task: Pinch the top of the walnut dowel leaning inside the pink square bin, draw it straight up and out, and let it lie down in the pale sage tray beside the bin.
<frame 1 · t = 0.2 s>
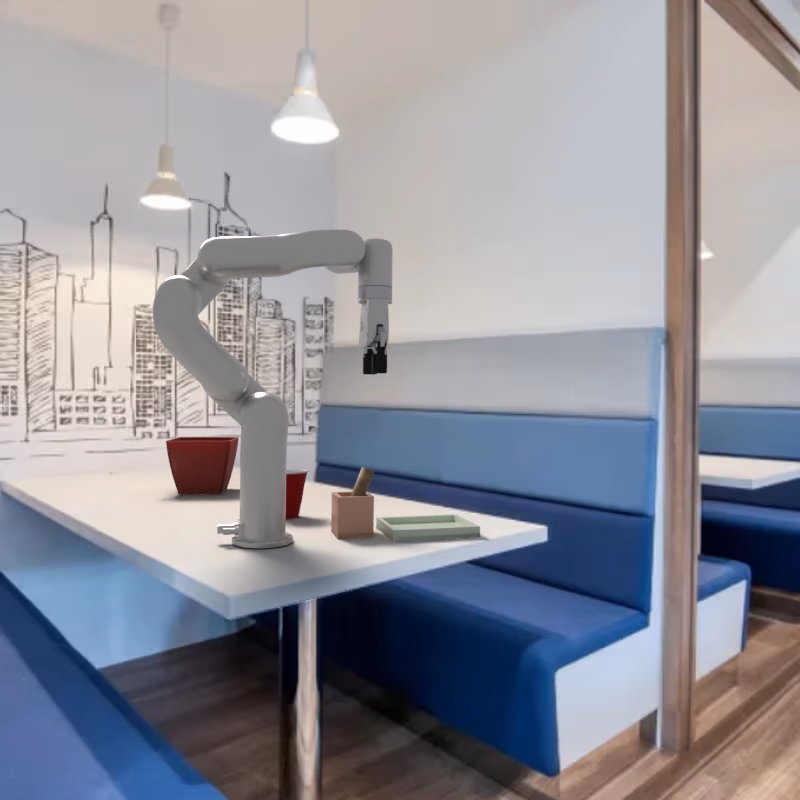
hand: (374, 373, 146), 36 cm above the table, tool pointing down, fingers open, 9 cm apart
tray: (426, 532, 151), on the table
dowel: (345, 527, 148), point 2 cm above the table, touching pink square bin
plastic cup: (286, 517, 168), on the table
plant pot: (203, 492, 207), on the table
pink square bin: (351, 534, 148), on the table
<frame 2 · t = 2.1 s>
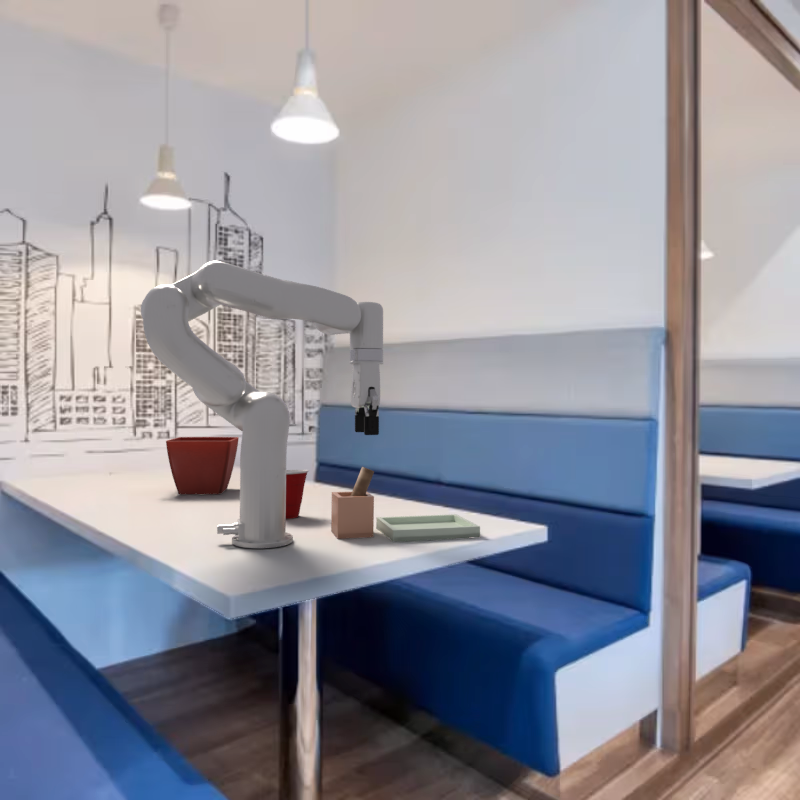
hand: (366, 433, 149), 23 cm above the table, tool pointing down, fingers open, 9 cm apart
nothing on the table moved.
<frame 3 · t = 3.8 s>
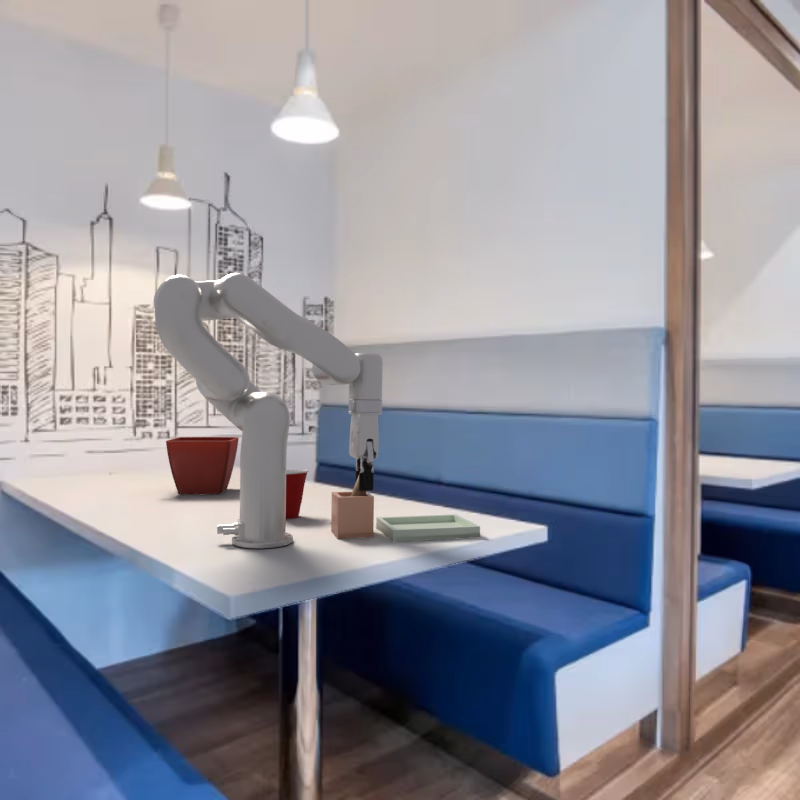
hand: (364, 488, 149), 10 cm above the table, tool pointing down, fingers closed on dowel, 3 cm apart
dowel: (345, 527, 148), point 2 cm above the table, touching pink square bin, gripper
everything else where it was.
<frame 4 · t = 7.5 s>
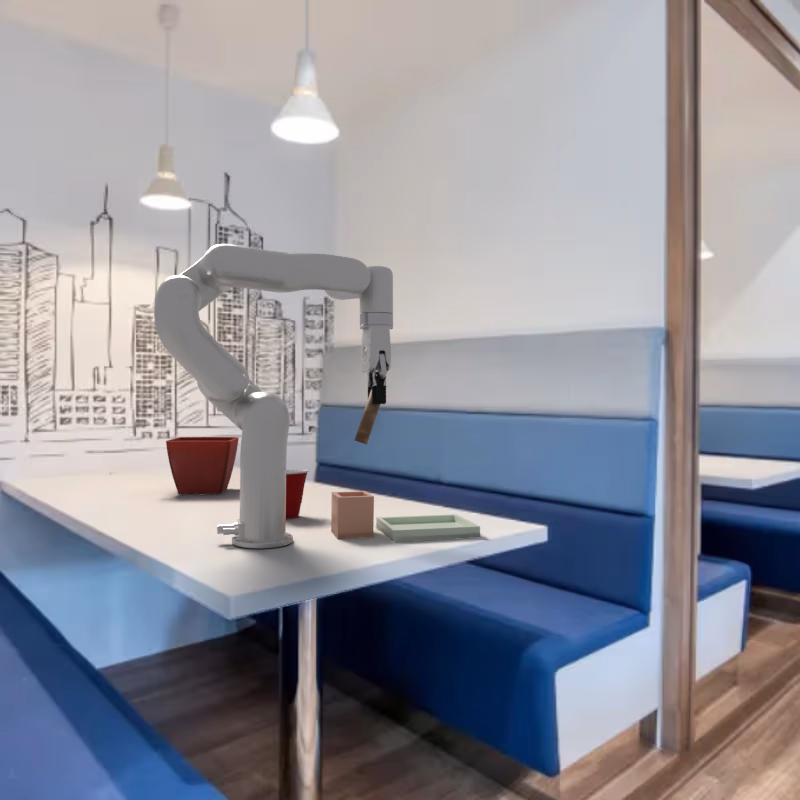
hand: (376, 403, 149), 30 cm above the table, tool pointing down, fingers closed on dowel, 3 cm apart
dowel: (360, 442, 148), point 21 cm above the table, touching gripper
everything else where it was.
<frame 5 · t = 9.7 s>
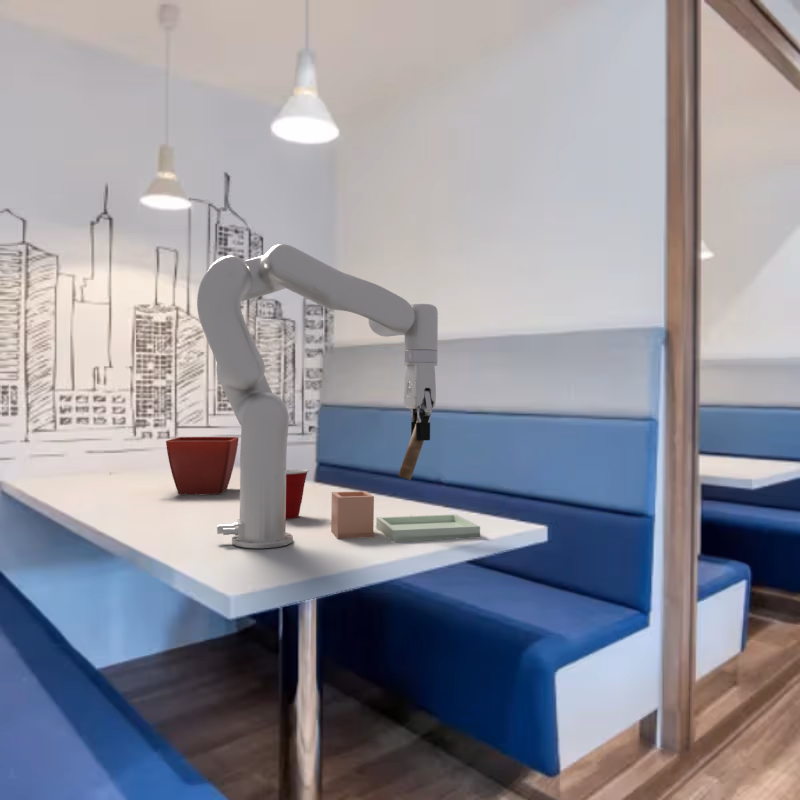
hand: (420, 438, 150), 21 cm above the table, tool pointing down, fingers closed on dowel, 3 cm apart
dowel: (404, 477, 149), point 13 cm above the table, touching gripper
everything else where it was.
when the fingers open (13 cm above the table, at t = 11.5 s): dowel drops 1 cm and tips over, resting on tray.
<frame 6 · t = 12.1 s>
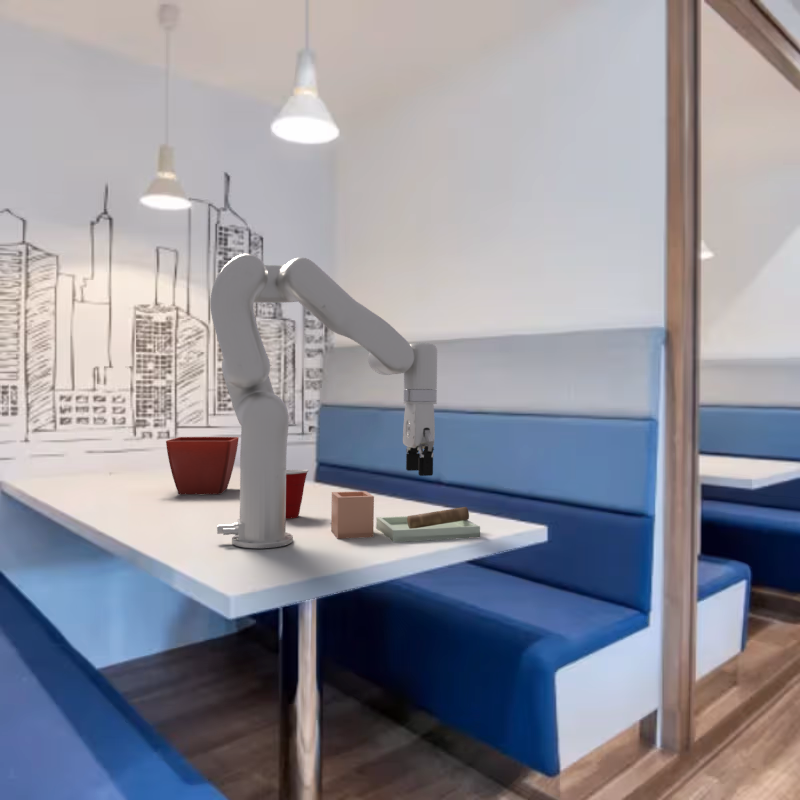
hand: (419, 472, 150), 14 cm above the table, tool pointing down, fingers open, 9 cm apart
dowel: (409, 522, 150), point 2 cm above the table, tilted 63°, touching tray
everything else where it was.
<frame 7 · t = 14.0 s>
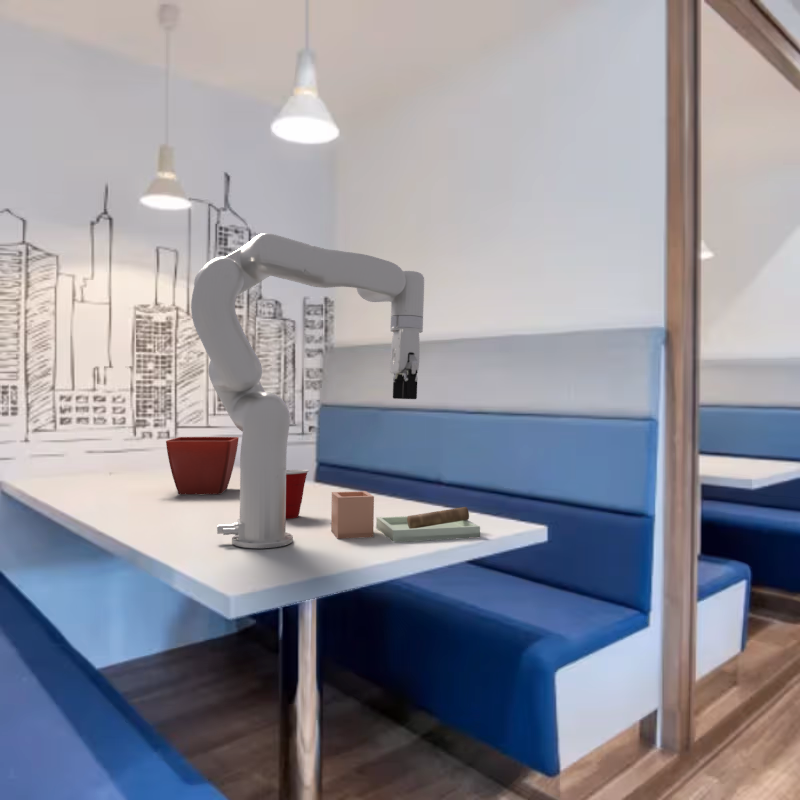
hand: (404, 398, 154), 31 cm above the table, tool pointing down, fingers open, 9 cm apart
nothing on the table moved.
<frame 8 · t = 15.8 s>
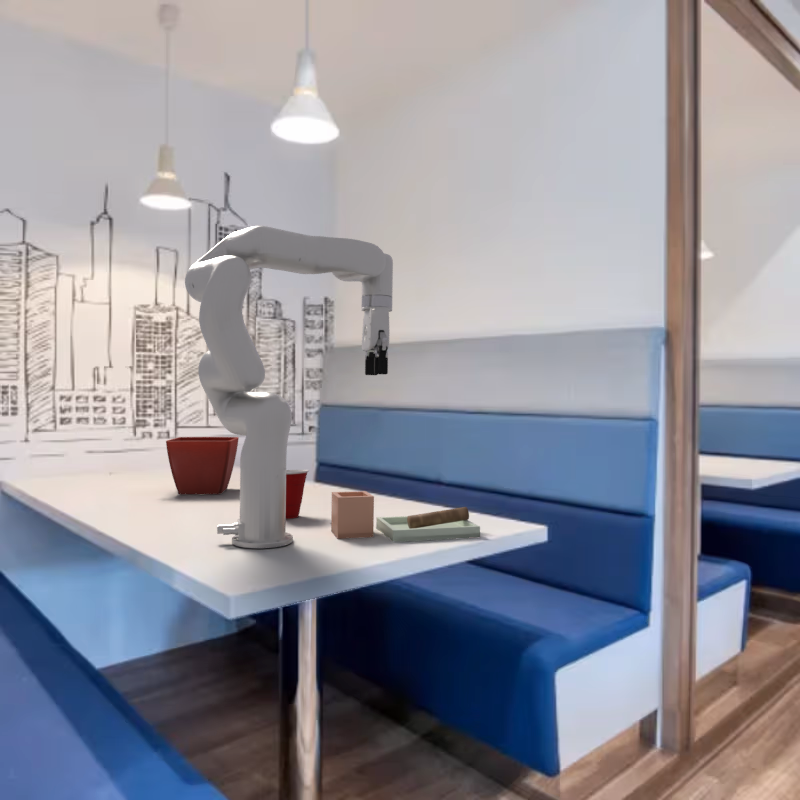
hand: (376, 374, 162), 36 cm above the table, tool pointing down, fingers open, 9 cm apart
nothing on the table moved.
at the end: dowel inside the target area on the tray (4.2 cm from its centre), point 2.5 cm above the tray's base; dowel tilted 63°; the gripper is holding nothing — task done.
